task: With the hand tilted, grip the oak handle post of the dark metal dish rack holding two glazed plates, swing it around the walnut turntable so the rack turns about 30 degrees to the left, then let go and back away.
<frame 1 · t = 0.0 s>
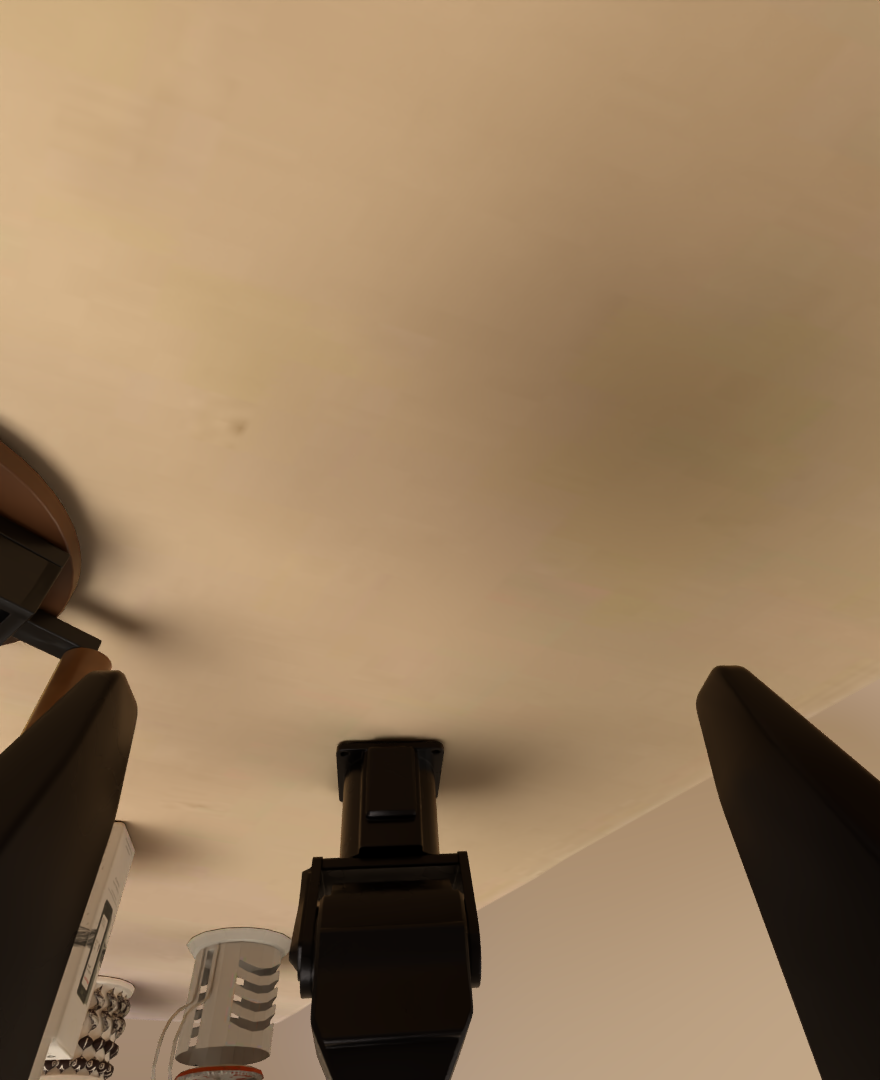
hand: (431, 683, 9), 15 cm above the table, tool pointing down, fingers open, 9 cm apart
ink box: (69, 833, 41), on the table
grey slotted cylinder: (235, 941, 57), on the table
decorative candle: (92, 985, 62), on the table
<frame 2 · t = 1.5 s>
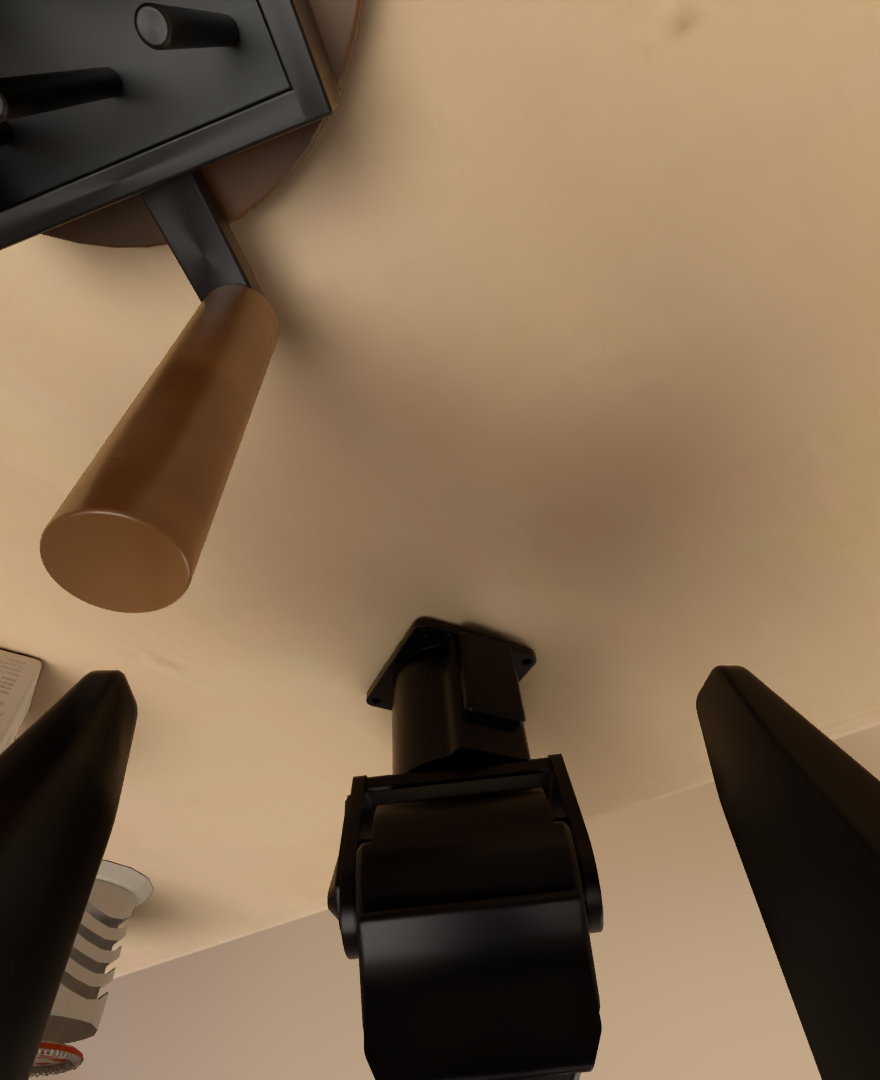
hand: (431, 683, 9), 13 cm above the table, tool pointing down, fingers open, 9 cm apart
grey slotted cylinder: (75, 878, 42), on the table
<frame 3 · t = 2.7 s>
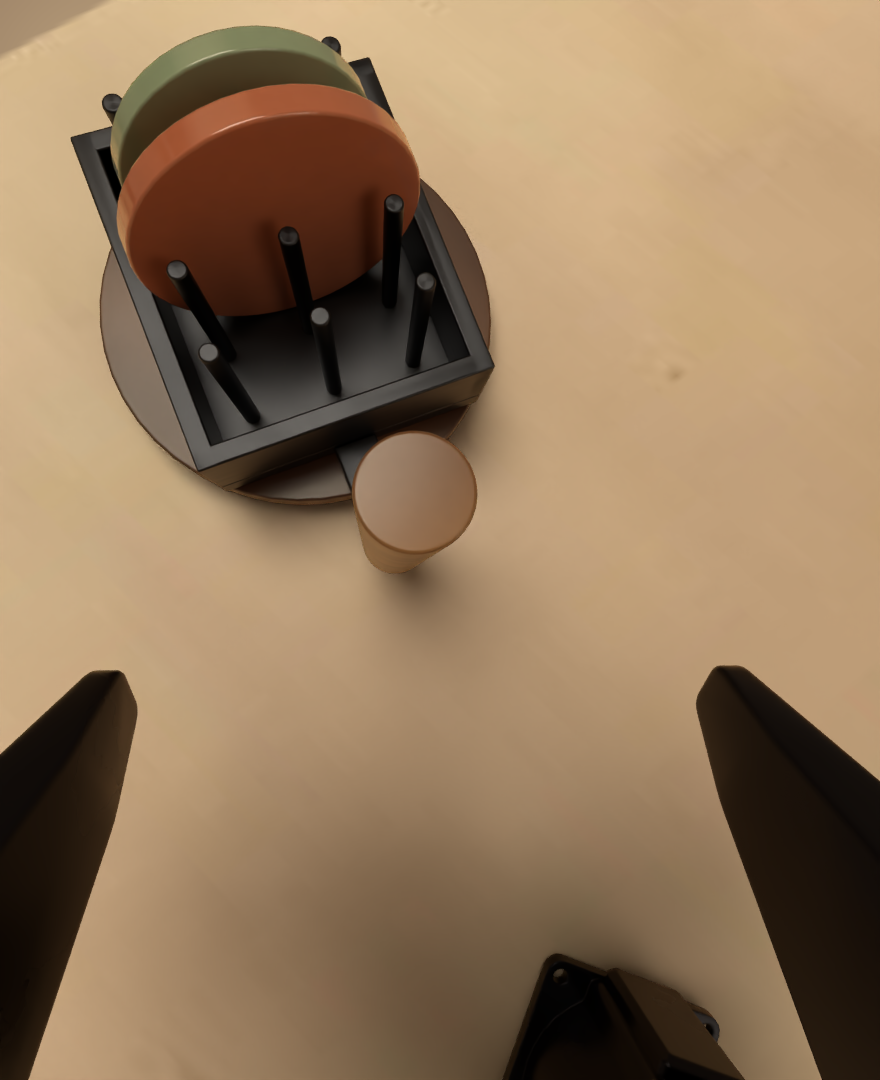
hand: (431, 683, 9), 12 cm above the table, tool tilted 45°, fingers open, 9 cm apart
dish rack: (308, 292, 15), point 7 cm above the table, hinge at 0.0°
turntable: (306, 329, 22), on the table
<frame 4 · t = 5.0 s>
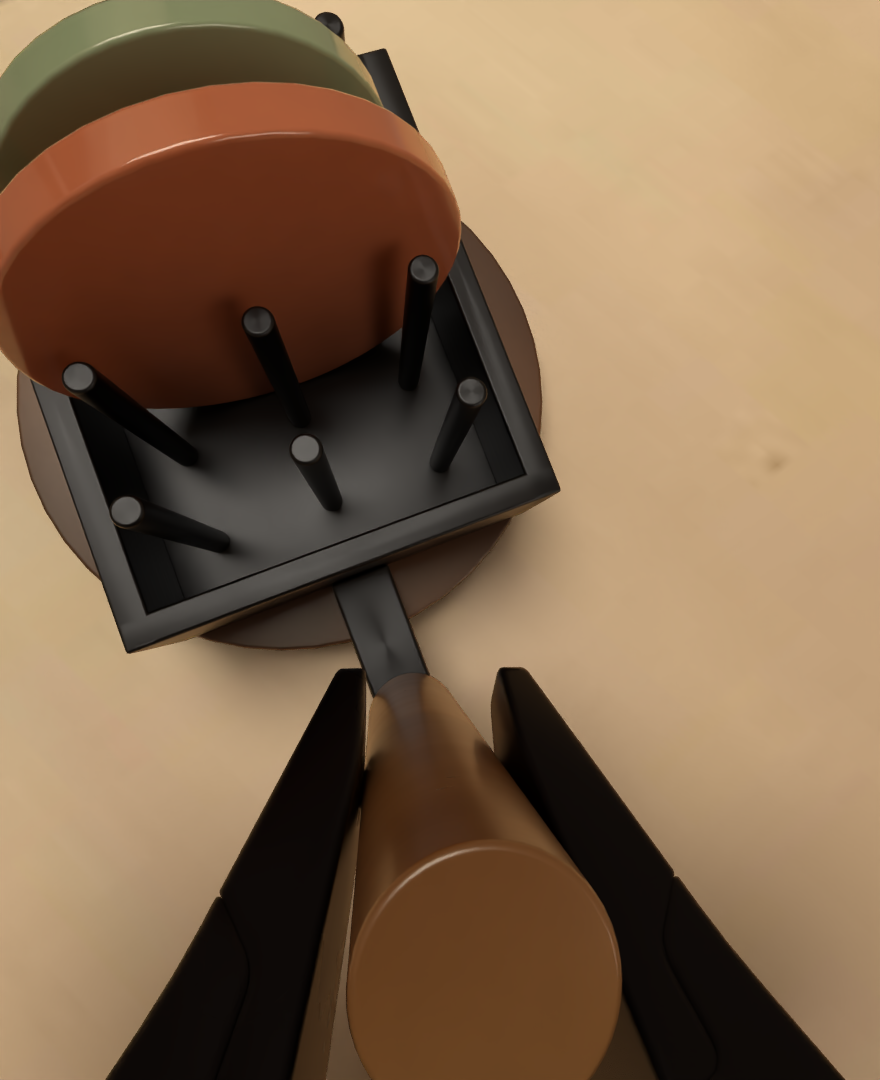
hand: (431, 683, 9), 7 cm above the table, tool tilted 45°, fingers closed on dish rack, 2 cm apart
dish rack: (289, 403, 10), point 7 cm above the table, hinge at 0.0°, touching gripper
turntable: (298, 407, 17), on the table
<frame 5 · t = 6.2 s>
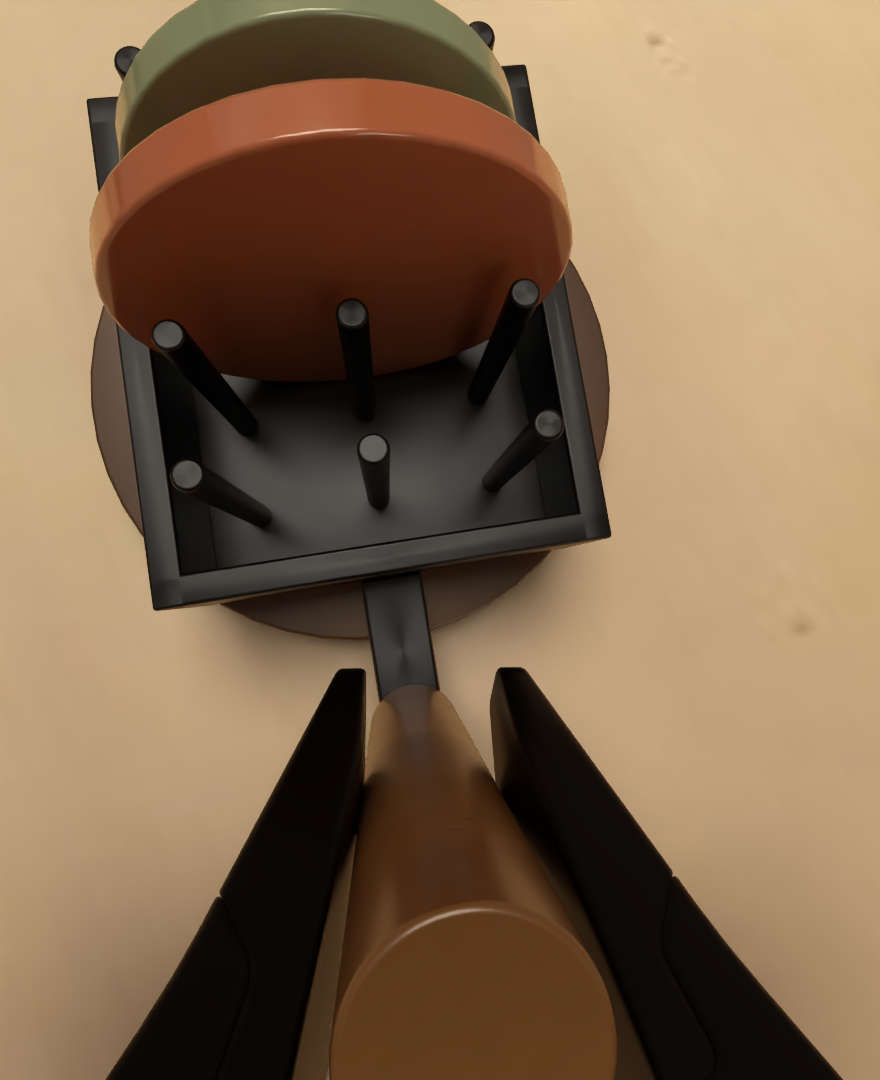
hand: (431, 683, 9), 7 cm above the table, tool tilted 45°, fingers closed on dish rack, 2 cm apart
dish rack: (365, 400, 10), point 7 cm above the table, hinge at 9.9°, touching gripper
turntable: (362, 398, 17), on the table
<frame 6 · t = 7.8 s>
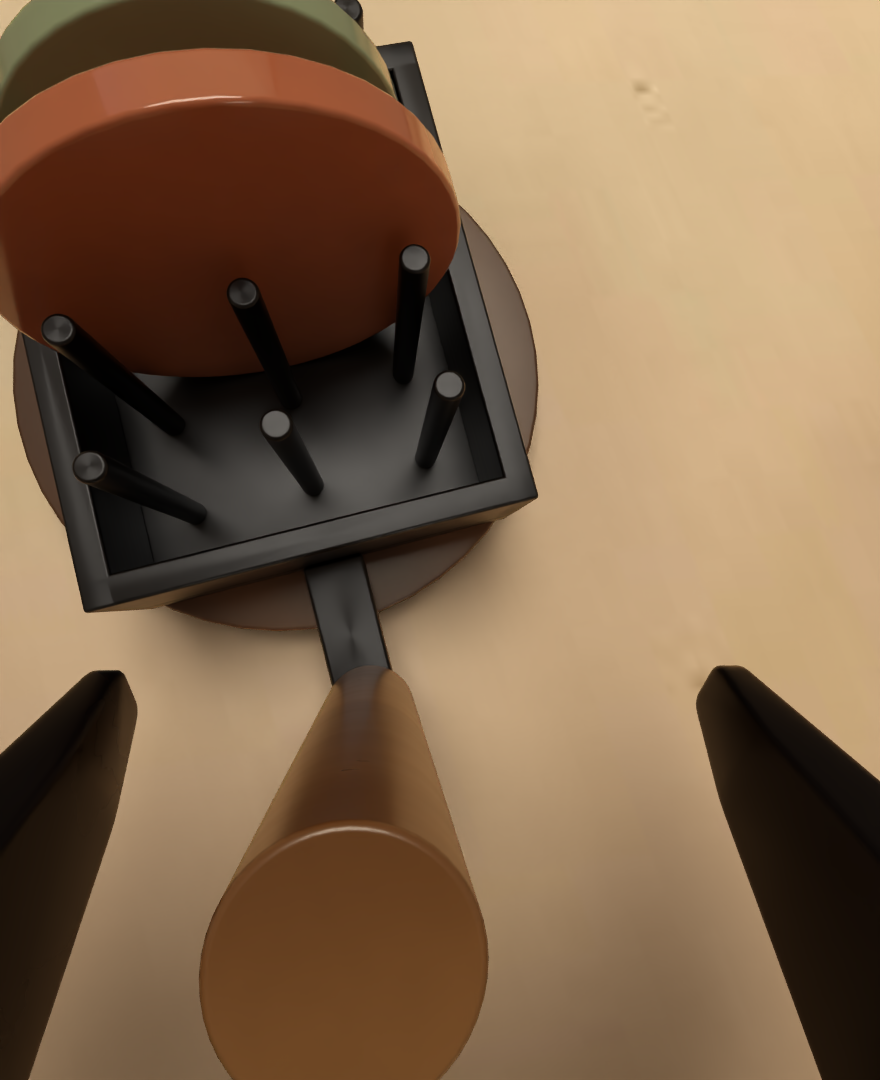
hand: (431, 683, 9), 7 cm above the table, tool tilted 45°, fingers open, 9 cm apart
dish rack: (268, 379, 10), point 7 cm above the table, hinge at 23.9°
turntable: (295, 390, 17), on the table
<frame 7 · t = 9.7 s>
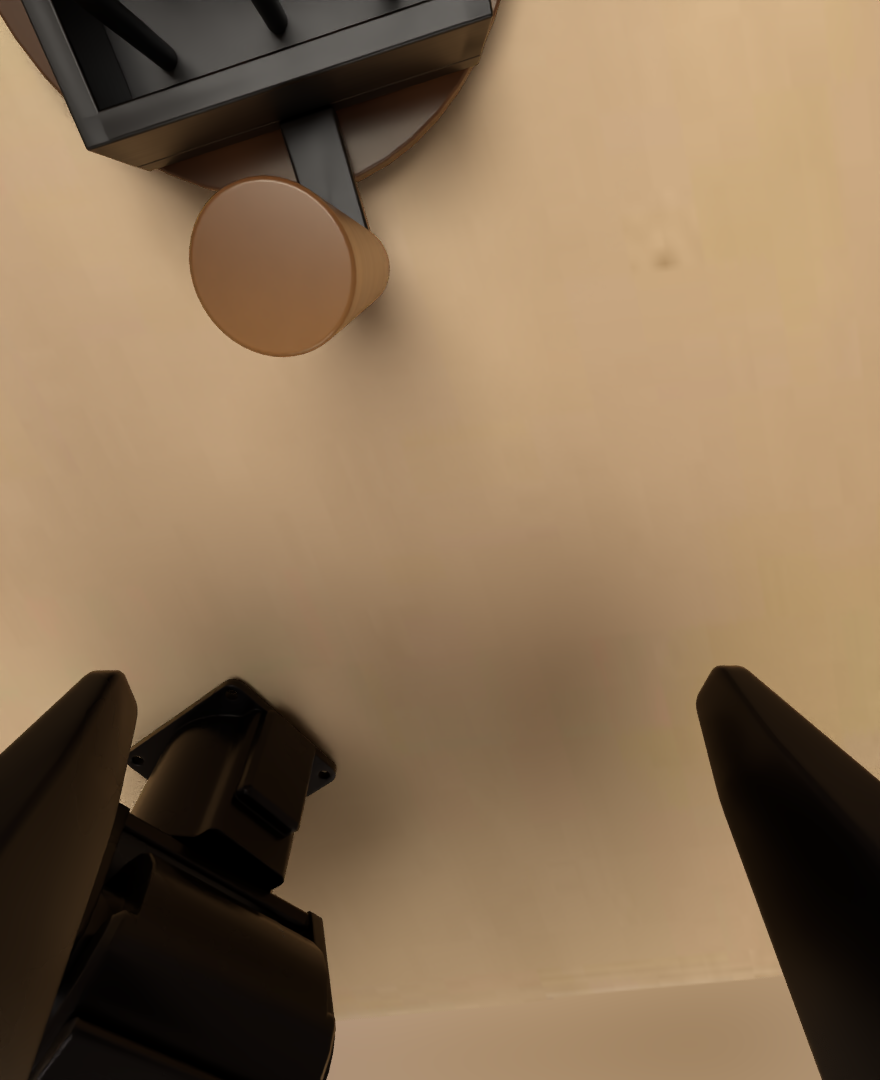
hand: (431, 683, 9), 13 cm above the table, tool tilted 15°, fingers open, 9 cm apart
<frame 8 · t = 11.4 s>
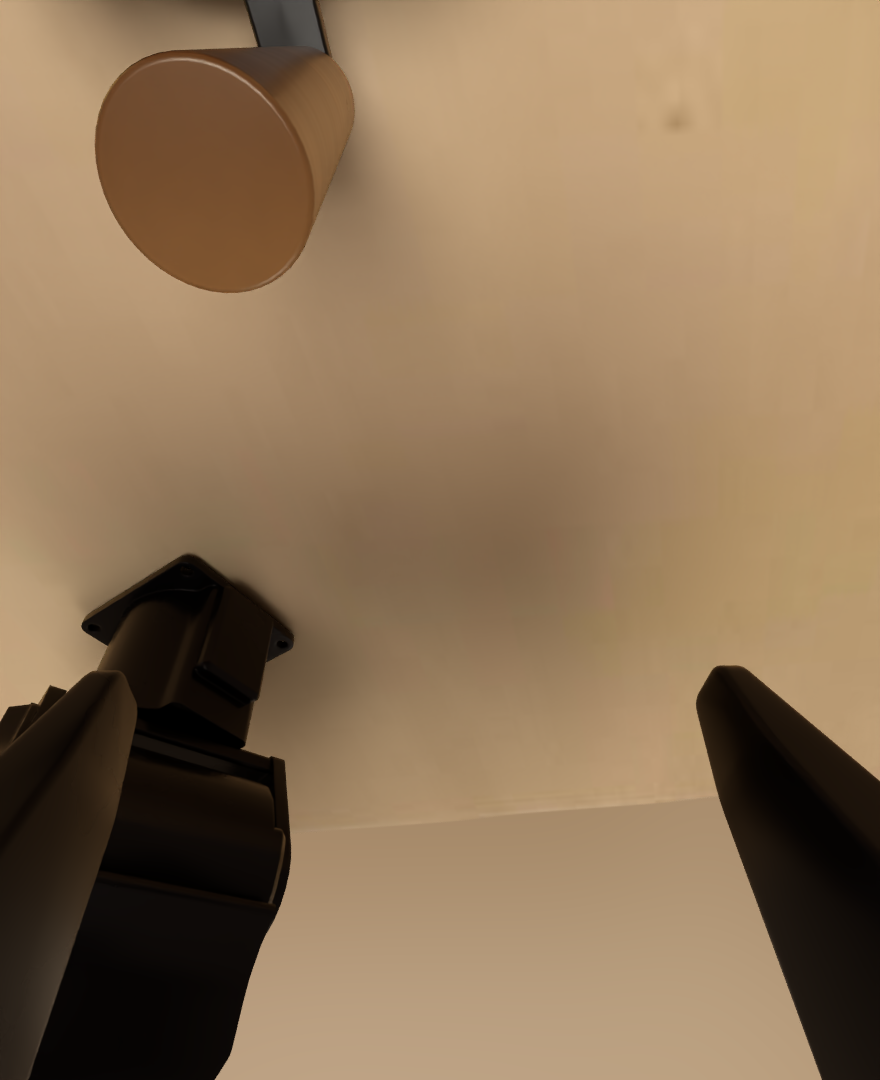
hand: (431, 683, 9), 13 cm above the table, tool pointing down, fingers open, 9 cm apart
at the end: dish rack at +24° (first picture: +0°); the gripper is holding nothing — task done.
